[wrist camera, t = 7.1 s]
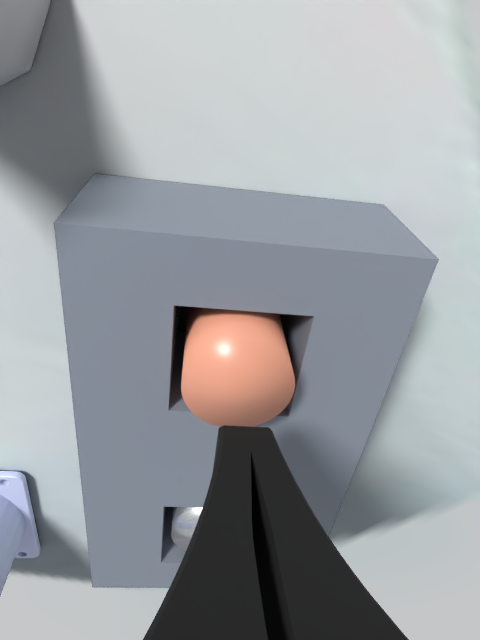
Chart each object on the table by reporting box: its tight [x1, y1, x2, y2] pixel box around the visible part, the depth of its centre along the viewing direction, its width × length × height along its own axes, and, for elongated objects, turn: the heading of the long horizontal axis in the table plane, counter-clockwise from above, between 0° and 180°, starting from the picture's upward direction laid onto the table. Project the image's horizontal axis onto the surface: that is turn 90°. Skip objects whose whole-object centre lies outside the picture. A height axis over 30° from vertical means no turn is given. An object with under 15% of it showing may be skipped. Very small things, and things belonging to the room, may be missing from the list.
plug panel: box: [54, 174, 439, 588], centre depth 20 cm, size 11×19×5 cm, turn 173°
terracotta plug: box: [181, 307, 295, 427], centre depth 16 cm, size 4×4×4 cm
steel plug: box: [171, 507, 202, 551], centre depth 22 cm, size 4×4×4 cm
